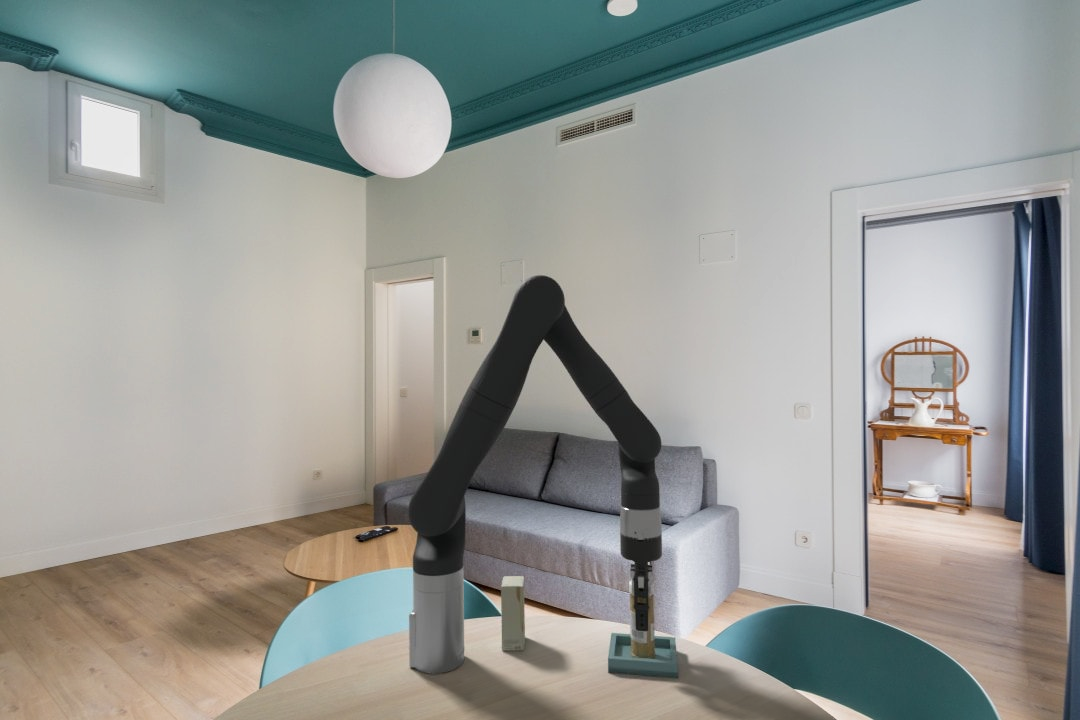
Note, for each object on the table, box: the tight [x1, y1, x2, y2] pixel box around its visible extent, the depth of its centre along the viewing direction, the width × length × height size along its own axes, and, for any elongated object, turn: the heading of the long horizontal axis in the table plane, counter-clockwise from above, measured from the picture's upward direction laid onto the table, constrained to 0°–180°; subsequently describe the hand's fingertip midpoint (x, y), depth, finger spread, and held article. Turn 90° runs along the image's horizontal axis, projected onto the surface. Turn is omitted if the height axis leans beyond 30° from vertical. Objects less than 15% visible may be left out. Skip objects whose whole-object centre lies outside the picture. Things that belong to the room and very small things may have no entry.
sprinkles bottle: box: [628, 579, 656, 659], centre depth 105 cm, size 5×5×14 cm
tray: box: [607, 632, 679, 679], centre depth 105 cm, size 12×10×2 cm
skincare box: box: [500, 575, 526, 651], centre depth 113 cm, size 6×4×12 cm
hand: (642, 620), depth 105 cm, fingers open, 7 cm apart
